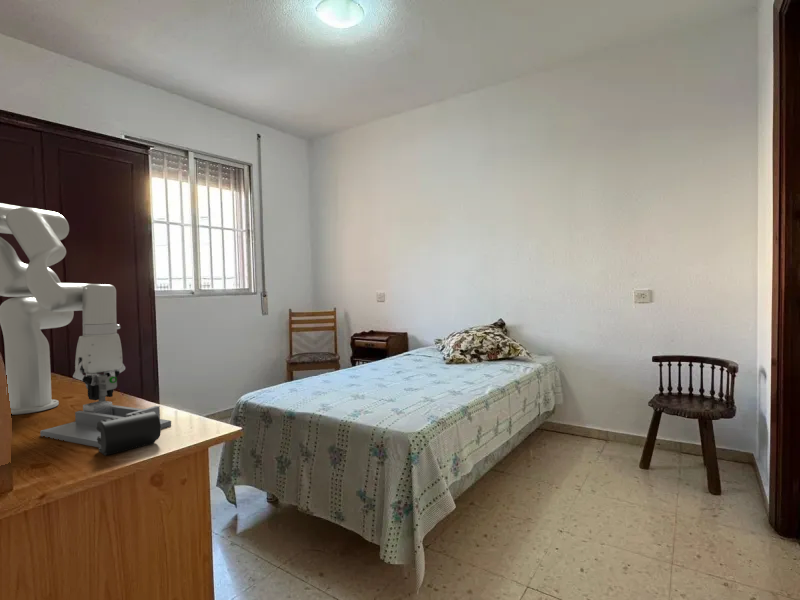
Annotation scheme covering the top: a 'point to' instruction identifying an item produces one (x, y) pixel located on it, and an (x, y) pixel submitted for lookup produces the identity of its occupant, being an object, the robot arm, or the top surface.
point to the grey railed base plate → (94, 425)
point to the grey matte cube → (99, 407)
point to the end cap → (128, 432)
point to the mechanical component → (105, 385)
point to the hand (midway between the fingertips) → (100, 397)
